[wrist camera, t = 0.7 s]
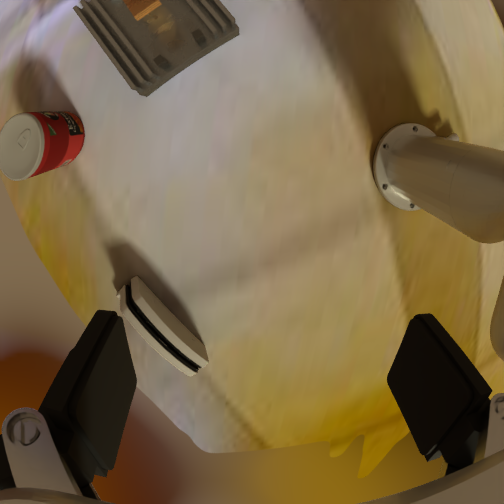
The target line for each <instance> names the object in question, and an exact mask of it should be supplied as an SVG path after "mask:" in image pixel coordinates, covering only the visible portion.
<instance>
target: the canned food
mask: <svg viewBox="0 0 504 504" xmlns="http://www.w3.org/2000/svg"><path fill="white" fill-rule="evenodd" d="M84 137H85V133H84V127H83V124H82V122H81V120H80V119H79V118H78V117H77V116H76V115H74V114H72V113H70V112H29V113H20V114H17V115H15V116H13V117H11V118H10V119H9V120H8V121H7V122H6V123H5V125H4V126H3V128H2V130H1V132H0V168H1V170H2V172H3V173H4V175H5V176H6V177H8V178H9V179H11V180H14V181H19V180H24V179H27V178H30V177H33V176H36V175H38V174H41V173H44V172H47V171H50V170H52V169H55V168H58V167H61V166H64V165H67V164H69V163H70V162H71V161H73V160H74V159H75V158H76V157H77V155H78V154H79V153H80V151H81V149H82V147H83V143H84Z"/></svg>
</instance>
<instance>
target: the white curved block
mask: <svg viewBox="0 0 504 504" xmlns="http://www.w3.org/2000/svg"><path fill="white" fill-rule="evenodd" d="M116 296H117V297H118V298H119V300H120V310H121V312H122V314H123V315H124V316H125V318H126V319H127V320H128V321H129V323H130V324H131V325H132V326H133V327H134V329H135V330H136V331H137V332H138V333H139V334H140V335H141V336H142V337H143V339H144V340H145V341H146V342H147V343H148V344H149V345H150V346H151V347H152V348H153V349H154V350H155V351H157V352H158V353H159V354H160V355H161V356H162V357H163V358H164V359H166V360H167V361H168V362H169V363H171V364H172V365H173V366H175V367H176V368H177V369H179V370H180V371H182V372H183V373H185V374H186V375H188V376H192V375H194V374H196V373H198V370H199V369H198V367H199V368H201V367H202V368H204V367H205V366H206V365H207V363H208V362H209V360H208V356H207V352H206V348H205V345H203V344H202V343H201V342H200V341H199V340H198V339H197V338H196V337H195V336H194V335H193V334H192V333H191V332H190V331H189V330H188V329H187V328H186V327H185V326H184V325H183V324H182V323H181V322H180V321H179V320H178V319H177V318H176V317H175V316H174V314H173V313H172V312H171V311H170V310H169V309H168V308H167V307H166V306H165V305H164V304H163V303H162V302H161V301H160V300H159V299H158V298H157V297H156V295H155V294H154V293H153V292H152V291H151V290H150V289H149V288H148V287H147V286H146V285H145V283H144V282H143V281H142V280H141V279H140V278H139V277H138V276H135V277H133V278H131V282H130V286H129V285H127V286H126V285H124V286H123V287H122V288H121V290H120V291H118V292H117V294H116Z"/></svg>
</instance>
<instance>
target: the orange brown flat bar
mask: <svg viewBox="0 0 504 504" xmlns="http://www.w3.org/2000/svg"><path fill="white" fill-rule="evenodd" d="M123 1H124V3H125V4H126V6H127V7H128V9H129V10H130V12H131V13H132V15H133V16H134V18H135V19H136V20H137V21H138V20H140V19H141V18H143V17H144V16H145V15H147V14H148V13H150V12H151V11H153V10H154V9H155V8H157V7H158V6H160V5H161V2H160V1H159V0H123Z"/></svg>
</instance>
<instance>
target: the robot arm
mask: <svg viewBox="0 0 504 504" xmlns="http://www.w3.org/2000/svg"><path fill="white" fill-rule="evenodd" d="M383 145H385V147H384V148H383ZM373 172H374V178H375V182H376V185H377V187H378V189H379V191H380V193H381V194H382V196H383V197H384V198H385V199H386V200H387V201H388V202H389V203H391V204H392V205H394V206H396V207H398V208H400V209H403V210H408V211H414V210H419V209H423V210H425V211H427V212H428V213H430V214H432V215H434V216H435V217H437V218H439V219H440V220H442V221H444V222H445V223H447V224H449V225H450V226H452V227H454V228H455V229H457V230H458V231H460V232H462V233H463V234H465V235H467V236H468V237H470V238H471V239H473V240H475V241H478V242H481V243H489V244H491V243H497V242H501V241H504V151H502V150H497V149H493V148H489V147H483V146H478V145H474V144H469V143H464V142H459V137H458V135H457V134H456V133H453V134H451V135H449V136H448V137H447V138H445V137H438V136H436V134H435V133H433V132H432V131H431V130H430V129H428V128H427V127H425V126H423V125H419V124H415V123H404V124H400V125H397V126H395V127H393V128H392V129H390V130H389V131H388V132H387V133H386V134H385V135H384V136H383V137H382V139H381V140H380V142H379V144H378V146H377V148H376V151H375V155H374V161H373ZM383 184H384V186H383ZM382 186H383V187H382ZM490 339H491V343H492V346H493V348H494V350H495V352H496V353H497V355H498V356H499V357H500V358H501V359H502V360H503V361H504V276H503V280H502V284H501V288H500V291H499V295H498V298H497V301H496V305H495V308H494V312H493V316H492V320H491V325H490ZM387 383H388V385H389V387H390V389H391V392H392V394H393V396H394V398H395V400H396V402H397V404H398V406H399V408H400V410H401V412H402V414H403V416H404V419H405V421H406V423H407V425H408V427H409V429H410V431H411V434H412V435H413V438H414V440H415V442H416V444H417V447H418V449H419V451H420V453H421V454H422V455H424V456H425V458H426V460H427V462H428V461H431V460H434V459H436V458H439V457H440V456H441V455H442V456H443V458H444V460H443V464H442V467H441V470H440V473H439V476H438V479H437V480H434V481H432V482H429V483H426V484H424V485H421V486H418V487H415V488H412V489H409V490H407V491H403V492H400V493H397V494H393V495H390V496H386V497H383V498H379V499H376V500H371V501H368V502H363V503H359V504H504V393H498V394H496V395H494V396H493V398H492V399H491V400H490V399H489V398H488V397H489V395H490V394H491V392H492V389H491V388H490V386H489V385H488V384H487V382H486V381H485V380H484V378H483V377H482V376H481V374H480V373H479V372H478V370H477V369H476V368H475V366H474V365H473V364H472V362H471V361H470V360H469V359H468V357H467V356H466V355H465V353H464V352H463V351H462V350H461V348H460V347H459V346H458V345H457V343H456V342H455V341H454V340H453V338H452V337H451V336H450V335H449V334H448V332H447V331H446V330H445V329H444V328H443V326H442V325H441V324H440V323H439V322H438V320H437V319H436V318H435V317H434V316H433V315H432V314H430V313H428V314H417V315H415V316H414V318H413V319H411V320H410V322H409V325H408V327H407V330H406V332H405V335H404V338H403V340H402V343H401V345H400V348H399V350H398V352H397V355H396V357H395V359H394V362H393V364H392V366H391V369H390V371H389V373H388V376H387ZM136 384H137V378H136V374H135V370H134V366H133V362H132V358H131V354H130V350H129V346H128V341H127V337H126V332H125V328H124V323H123V319H122V317H120V316H118V315H117V313H116V312H115V311H106V310H98V311H97V312H96V313H95V315H94V316H93V318H92V319H91V321H90V323H89V324H88V326H87V327H86V329H85V331H84V332H83V334H82V336H81V337H80V339H79V341H78V342H77V344H76V346H75V347H74V348H73V349H72V350H71V351H70V352H69V354H68V356H67V358H66V359H65V361H64V363H63V365H62V366H61V368H60V370H59V372H58V374H57V375H56V377H55V379H54V381H53V383H52V385H51V386H50V388H49V390H48V392H47V394H46V396H45V398H44V400H43V402H42V404H41V406H40V408H39V410H38V411H36V410H34V409H32V408H21V409H17V410H15V411H13V412H12V413H10V414H9V415H8V416H7V417H6V419H5V421H4V422H3V426H2V434H1V435H0V504H114V503H109V502H105V501H101V499H100V498H99V496H98V494H97V492H96V491H95V489H94V487H93V486H92V484H91V482H92V481H93V478H94V474H95V475H99V476H103V477H106V476H107V472H108V470H112V469H113V468H114V464H115V461H116V457H117V453H118V449H119V445H120V442H121V438H122V434H123V430H124V427H125V423H126V420H127V416H128V413H129V409H130V406H131V402H132V399H133V395H134V392H135V389H136Z"/></svg>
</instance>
